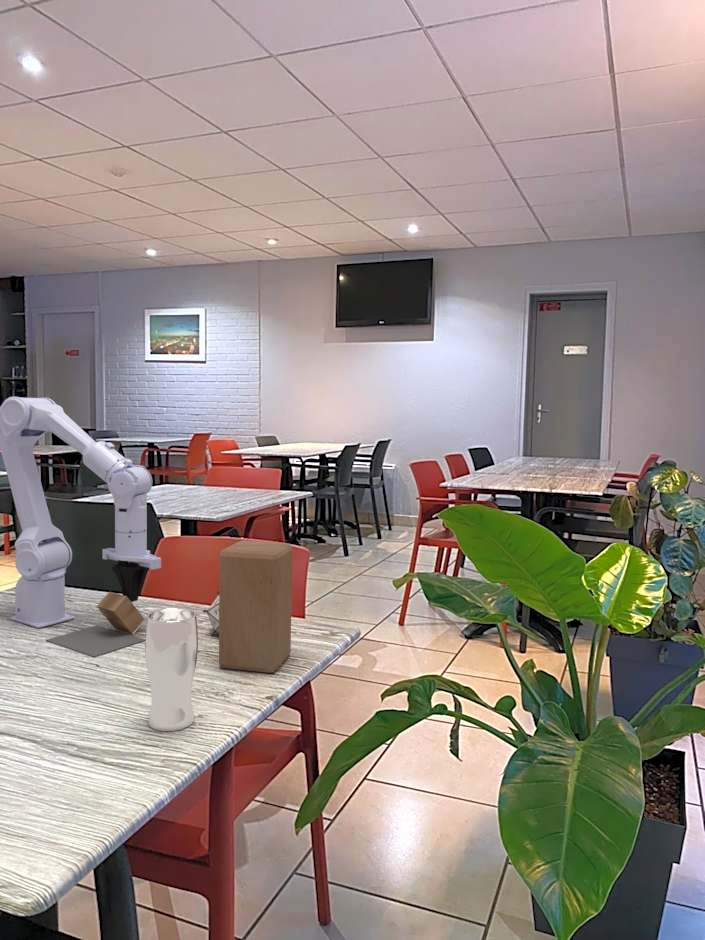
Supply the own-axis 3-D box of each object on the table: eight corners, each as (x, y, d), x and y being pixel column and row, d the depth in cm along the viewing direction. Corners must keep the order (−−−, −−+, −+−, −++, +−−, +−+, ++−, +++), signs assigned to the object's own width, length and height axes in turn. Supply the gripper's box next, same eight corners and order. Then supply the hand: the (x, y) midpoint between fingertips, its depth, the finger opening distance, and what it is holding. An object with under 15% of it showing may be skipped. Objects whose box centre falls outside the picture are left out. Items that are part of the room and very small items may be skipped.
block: (274, 675, 113) (276, 553, 111) (216, 669, 115) (217, 549, 113) (292, 654, 123) (294, 542, 121) (238, 649, 125) (239, 538, 123)
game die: (228, 656, 132) (219, 624, 125) (200, 631, 136) (190, 600, 130) (264, 626, 136) (256, 594, 130) (235, 603, 141) (227, 571, 134)
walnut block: (115, 629, 134) (96, 606, 130) (127, 615, 136) (109, 591, 132) (132, 634, 131) (113, 611, 127) (145, 619, 134) (126, 596, 130)
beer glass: (176, 706, 101) (177, 604, 99) (208, 720, 96) (208, 614, 95) (134, 722, 95) (134, 614, 94) (165, 738, 91) (165, 625, 90)
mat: (45, 640, 127) (45, 639, 127) (97, 626, 136) (97, 625, 136) (94, 657, 119) (94, 656, 119) (145, 640, 128) (145, 639, 128)
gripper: (173, 532, 132) (173, 602, 133) (123, 523, 140) (123, 590, 141) (143, 537, 126) (143, 611, 127) (92, 528, 134) (93, 597, 135)
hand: (131, 600), depth 134 cm, fingers closed
